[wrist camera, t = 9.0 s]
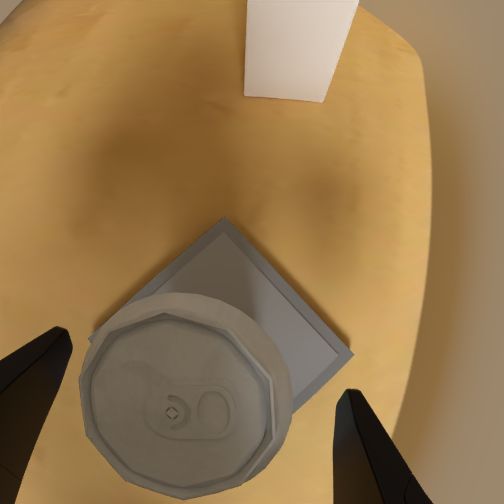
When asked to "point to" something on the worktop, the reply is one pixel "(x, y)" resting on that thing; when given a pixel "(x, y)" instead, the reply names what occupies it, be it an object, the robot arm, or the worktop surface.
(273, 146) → the worktop surface
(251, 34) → the milk
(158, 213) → the worktop surface
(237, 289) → the trivet
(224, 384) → the beer can
